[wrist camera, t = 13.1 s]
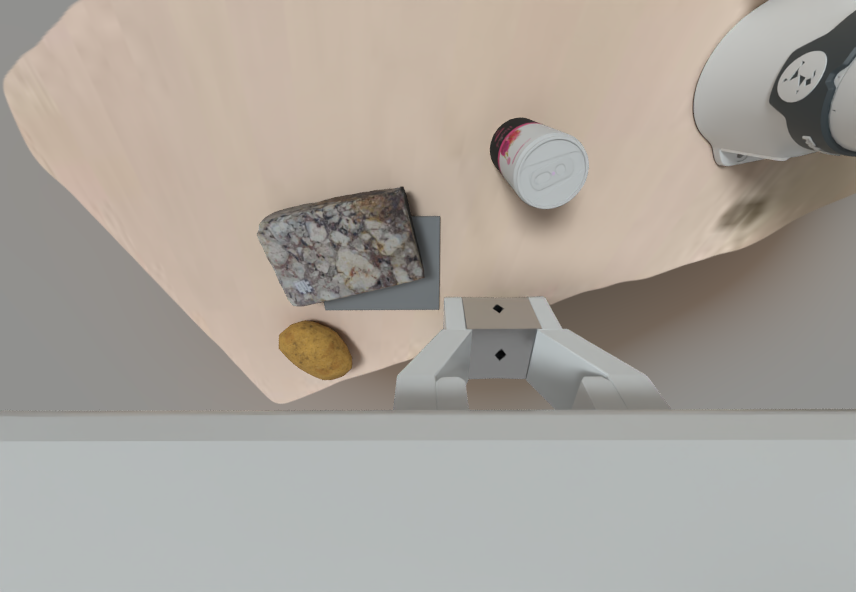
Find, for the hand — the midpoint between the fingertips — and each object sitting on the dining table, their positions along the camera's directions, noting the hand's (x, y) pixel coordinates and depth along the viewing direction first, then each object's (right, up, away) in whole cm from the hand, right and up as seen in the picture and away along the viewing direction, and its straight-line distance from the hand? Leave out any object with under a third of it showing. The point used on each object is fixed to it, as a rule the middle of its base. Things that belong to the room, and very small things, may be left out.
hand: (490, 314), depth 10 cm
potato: (-21, -7, +49) cm, 54 cm away
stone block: (-3, +9, +35) cm, 36 cm away
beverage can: (+9, +20, +32) cm, 38 cm away
